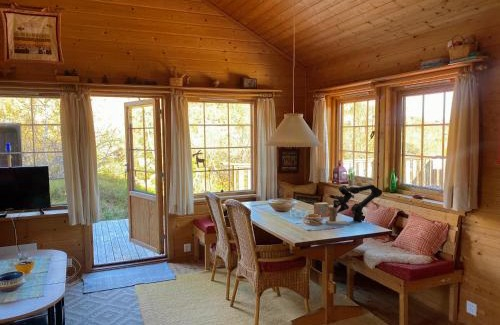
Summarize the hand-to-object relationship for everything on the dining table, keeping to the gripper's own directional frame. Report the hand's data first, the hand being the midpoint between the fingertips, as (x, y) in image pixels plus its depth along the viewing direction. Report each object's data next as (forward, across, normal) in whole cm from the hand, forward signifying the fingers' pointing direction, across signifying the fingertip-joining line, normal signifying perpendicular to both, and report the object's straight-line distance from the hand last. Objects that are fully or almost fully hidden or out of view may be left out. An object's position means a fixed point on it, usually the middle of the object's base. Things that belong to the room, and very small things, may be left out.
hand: (334, 211), depth 329 cm
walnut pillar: (+8, 0, +5) cm, 9 cm away
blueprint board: (+6, +3, +8) cm, 11 cm away
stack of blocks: (+3, -28, +12) cm, 30 cm away
